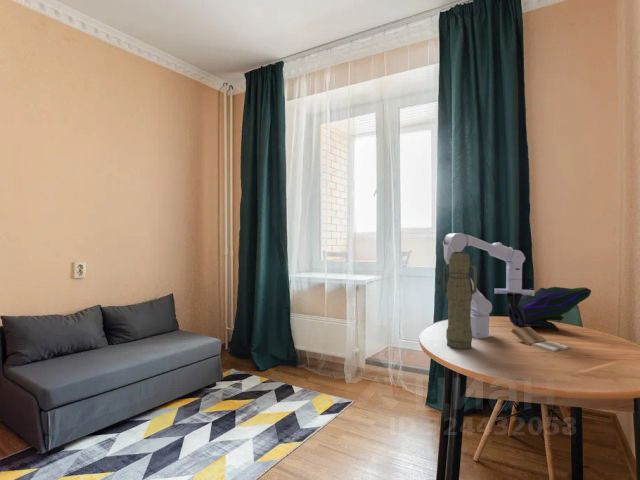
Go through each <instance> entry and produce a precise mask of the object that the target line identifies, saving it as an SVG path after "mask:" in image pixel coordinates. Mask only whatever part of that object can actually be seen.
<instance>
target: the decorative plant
mask: <svg viewBox="0 0 640 480" xmlns="http://www.w3.org/2000/svg"><path fill="white" fill-rule="evenodd" d="M533 289H534V288H531V287H530V288H529V289H528V290H533ZM591 293H592V290H591V289H590V288H588V287H585V286H584V287H575V288H569V287H568V288H567V287H560V286H552V287H548V288H545V287H540V288H538V290H536V291H534V296H531V295H521V296H522V297H521V299H520V301H519V303H518V305H517V309H516V313H515V312H512V308H511V304H510V303H508V304H506V309H505V311H506V312H505V313H506V314H507V315H508V317H509V321H510V322H511V323H512V325H513V326H518V327H523V326H542V327H545V328H549V329H552V330H553V331H556V332H557V331H559V329H560V327H557V326H556V324H555V323H553V322H552V321H558V322H560V321H561V322H562V321H563V319H564V318H565V317H564V316H563V315H564V314H567V313H569V312H570V311H571V310H573V309H574V308H575V307H576V306H577V305H578V304H580V303H582V302H584V301H585V300H587V299H588V298H589V297H590V296H591Z"/></svg>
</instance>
